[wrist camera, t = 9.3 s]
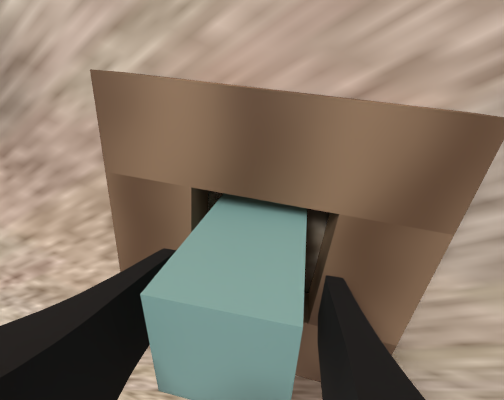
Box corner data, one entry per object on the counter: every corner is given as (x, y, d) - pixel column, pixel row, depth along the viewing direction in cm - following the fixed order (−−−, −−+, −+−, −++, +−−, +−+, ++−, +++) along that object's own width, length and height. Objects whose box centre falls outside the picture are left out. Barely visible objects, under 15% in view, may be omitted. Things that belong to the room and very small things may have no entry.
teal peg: (307, 200, 12) (303, 327, 6) (297, 269, 13) (286, 425, 7) (225, 191, 13) (139, 294, 6) (225, 257, 14) (158, 390, 8)
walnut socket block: (474, 113, 9) (514, 119, 7) (363, 359, 15) (370, 396, 13) (125, 72, 11) (90, 69, 9) (147, 303, 17) (129, 328, 15)
